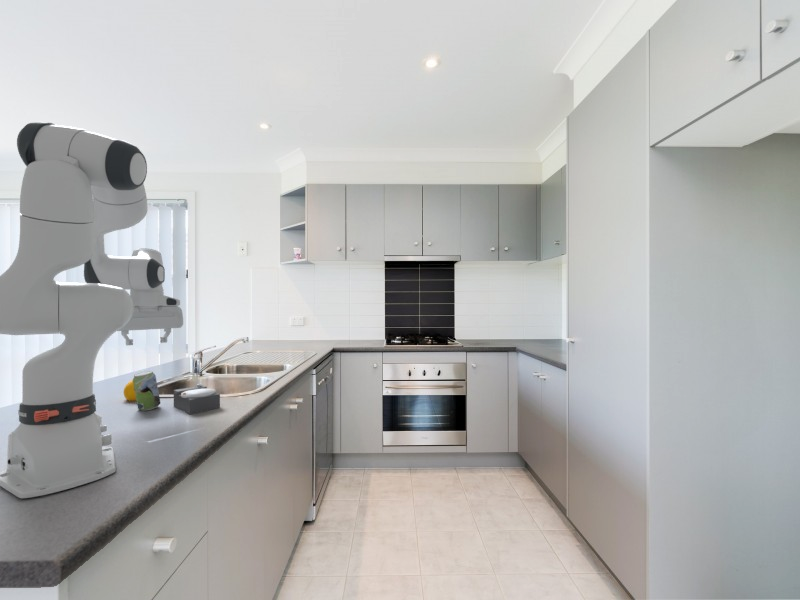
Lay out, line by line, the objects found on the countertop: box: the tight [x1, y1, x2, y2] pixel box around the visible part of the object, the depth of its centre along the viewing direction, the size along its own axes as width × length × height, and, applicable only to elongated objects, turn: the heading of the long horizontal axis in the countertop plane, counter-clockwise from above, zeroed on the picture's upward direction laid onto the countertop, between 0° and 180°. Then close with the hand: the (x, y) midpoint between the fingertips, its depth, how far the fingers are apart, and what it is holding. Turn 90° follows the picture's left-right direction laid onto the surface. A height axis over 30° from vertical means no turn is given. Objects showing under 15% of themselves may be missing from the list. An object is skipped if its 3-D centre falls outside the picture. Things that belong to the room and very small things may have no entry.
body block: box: [173, 383, 221, 415], centre depth 120 cm, size 13×10×6 cm
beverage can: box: [132, 370, 161, 412], centre depth 118 cm, size 6×7×12 cm
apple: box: [123, 379, 137, 402], centre depth 130 cm, size 8×8×8 cm
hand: (147, 343), depth 118 cm, fingers open, 8 cm apart
